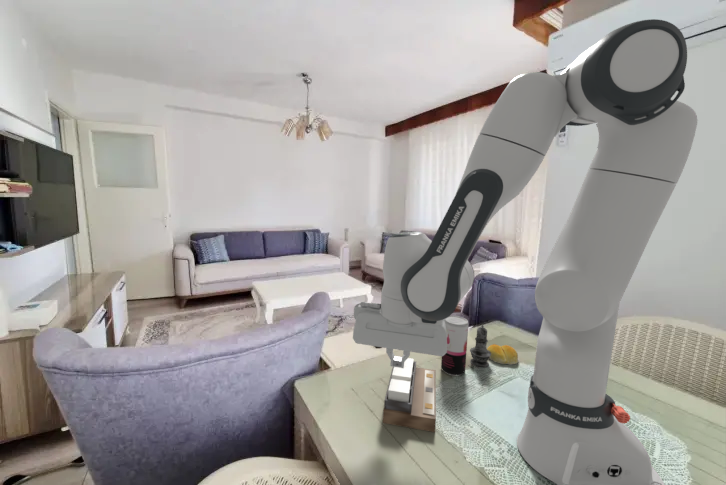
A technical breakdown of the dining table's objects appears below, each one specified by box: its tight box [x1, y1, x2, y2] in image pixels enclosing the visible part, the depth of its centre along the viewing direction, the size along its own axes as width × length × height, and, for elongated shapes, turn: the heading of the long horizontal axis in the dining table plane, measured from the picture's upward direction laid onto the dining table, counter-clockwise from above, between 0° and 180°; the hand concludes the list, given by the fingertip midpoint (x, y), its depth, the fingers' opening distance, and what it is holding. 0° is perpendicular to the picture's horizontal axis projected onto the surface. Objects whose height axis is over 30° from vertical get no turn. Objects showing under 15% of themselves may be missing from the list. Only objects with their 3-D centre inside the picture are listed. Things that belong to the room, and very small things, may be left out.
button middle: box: [392, 367, 412, 386], centre depth 75 cm, size 4×4×2 cm
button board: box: [382, 360, 437, 433], centre depth 75 cm, size 11×19×5 cm, turn 167°
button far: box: [404, 357, 415, 372], centre depth 81 cm, size 4×4×2 cm
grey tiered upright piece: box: [469, 324, 491, 369], centre depth 91 cm, size 6×6×12 cm
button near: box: [388, 379, 410, 403], centre depth 69 cm, size 4×4×2 cm
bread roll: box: [486, 344, 519, 366], centre depth 95 cm, size 8×9×4 cm
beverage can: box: [440, 315, 469, 377], centre depth 87 cm, size 6×7×15 cm
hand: (397, 366), depth 68 cm, fingers closed
